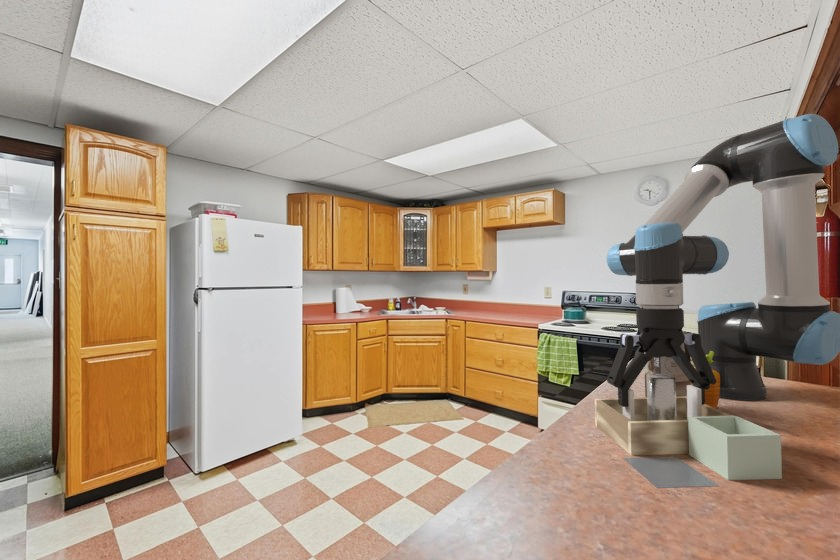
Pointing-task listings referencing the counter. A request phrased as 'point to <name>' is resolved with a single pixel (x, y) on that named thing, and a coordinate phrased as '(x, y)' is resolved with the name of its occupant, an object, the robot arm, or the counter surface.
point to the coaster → (669, 472)
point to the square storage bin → (735, 447)
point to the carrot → (712, 386)
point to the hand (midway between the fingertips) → (661, 422)
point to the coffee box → (669, 371)
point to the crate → (647, 427)
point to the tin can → (661, 397)
